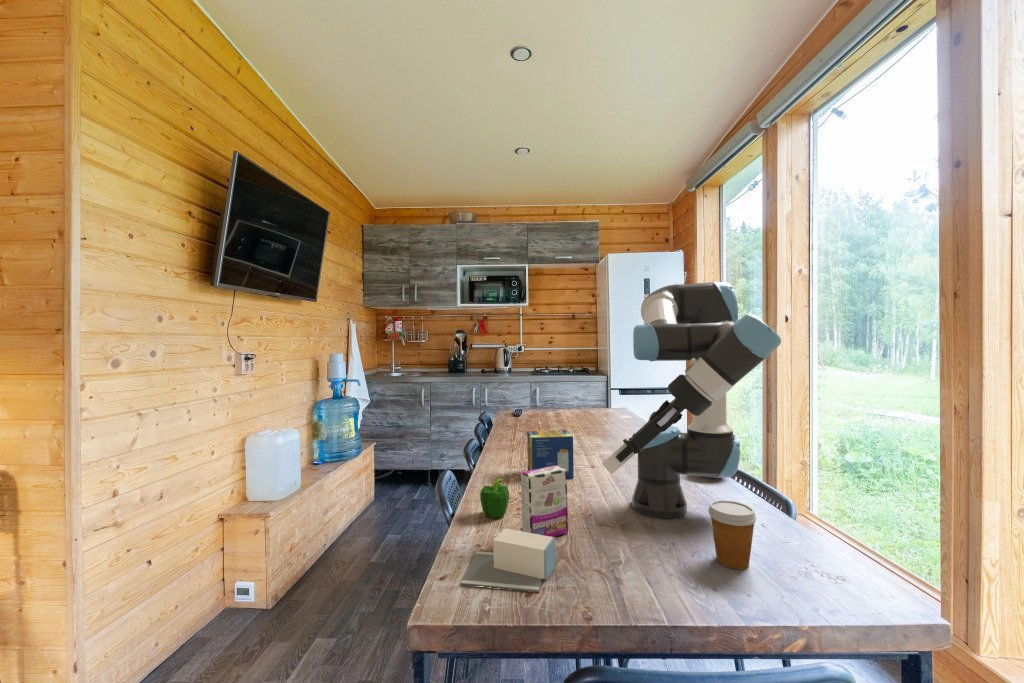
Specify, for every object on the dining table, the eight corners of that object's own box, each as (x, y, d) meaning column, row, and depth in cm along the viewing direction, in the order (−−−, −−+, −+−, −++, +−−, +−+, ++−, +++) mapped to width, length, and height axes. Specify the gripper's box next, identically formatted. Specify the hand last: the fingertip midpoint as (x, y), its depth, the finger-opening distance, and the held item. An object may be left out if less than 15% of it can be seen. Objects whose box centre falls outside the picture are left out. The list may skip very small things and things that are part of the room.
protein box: (527, 472, 160) (526, 431, 160) (567, 470, 162) (566, 429, 162) (531, 481, 150) (530, 437, 150) (574, 479, 152) (573, 435, 152)
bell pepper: (486, 524, 115) (485, 487, 115) (476, 513, 123) (476, 478, 123) (514, 518, 119) (514, 482, 119) (503, 508, 126) (503, 474, 126)
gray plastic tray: (546, 559, 96) (545, 556, 96) (539, 592, 83) (539, 589, 83) (477, 554, 99) (476, 551, 99) (460, 585, 86) (460, 582, 86)
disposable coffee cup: (756, 578, 87) (755, 519, 87) (705, 566, 92) (704, 510, 92) (758, 558, 95) (757, 504, 95) (711, 547, 100) (710, 496, 100)
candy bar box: (557, 526, 113) (557, 464, 113) (568, 534, 108) (568, 469, 108) (520, 536, 108) (519, 471, 108) (530, 544, 103) (529, 476, 103)
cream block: (555, 537, 92) (504, 528, 97) (546, 550, 87) (493, 540, 92) (555, 565, 92) (505, 554, 97) (546, 579, 87) (493, 567, 92)
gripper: (684, 369, 85) (602, 446, 92) (679, 375, 73) (585, 462, 80) (714, 397, 82) (627, 473, 90) (714, 408, 71) (614, 494, 78)
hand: (607, 468), depth 85 cm, fingers closed
